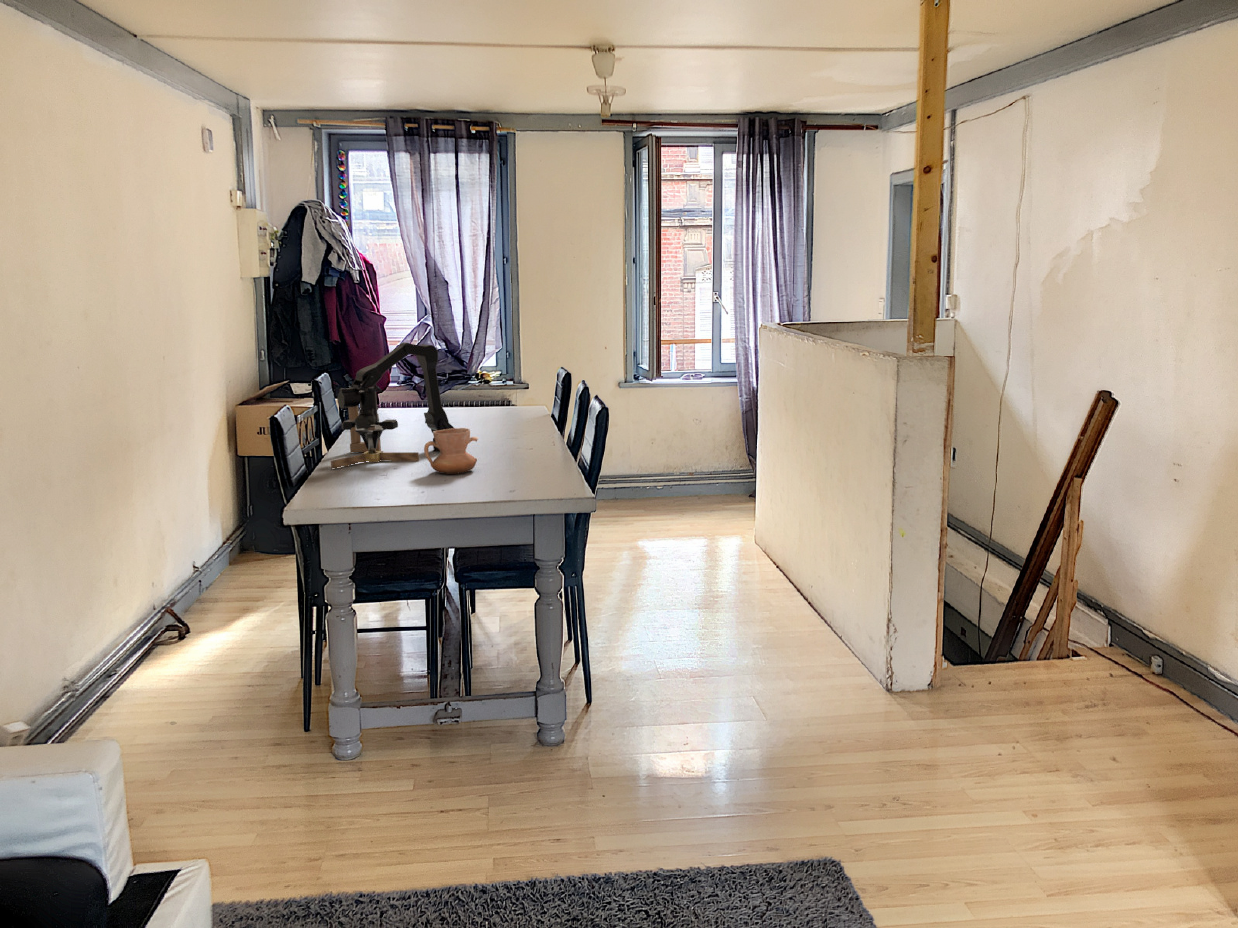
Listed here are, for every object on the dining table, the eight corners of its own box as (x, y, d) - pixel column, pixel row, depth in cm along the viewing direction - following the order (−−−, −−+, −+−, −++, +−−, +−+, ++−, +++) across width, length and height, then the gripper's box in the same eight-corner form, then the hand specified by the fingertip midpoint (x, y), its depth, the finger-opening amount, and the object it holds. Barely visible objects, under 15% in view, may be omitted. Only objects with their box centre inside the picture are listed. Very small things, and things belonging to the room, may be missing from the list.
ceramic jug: (476, 466, 351) (473, 425, 348) (483, 473, 337) (480, 431, 335) (423, 471, 346) (420, 430, 343) (428, 479, 332) (424, 436, 330)
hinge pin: (378, 454, 366) (376, 430, 364) (374, 456, 362) (373, 431, 361) (369, 454, 366) (367, 430, 364) (366, 456, 363) (364, 431, 361)
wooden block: (379, 452, 381) (375, 404, 377) (350, 453, 380) (346, 405, 377) (381, 450, 384) (377, 403, 381) (352, 451, 384) (348, 404, 380)
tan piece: (421, 459, 365) (420, 451, 365) (404, 469, 347) (403, 461, 347) (351, 459, 369) (350, 451, 368) (330, 469, 351) (330, 461, 350)
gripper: (334, 408, 354) (337, 452, 357) (386, 408, 352) (389, 452, 355) (346, 404, 365) (350, 447, 368) (396, 403, 362) (399, 446, 366)
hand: (371, 448), depth 364 cm, fingers closed on hinge pin, 2 cm apart
